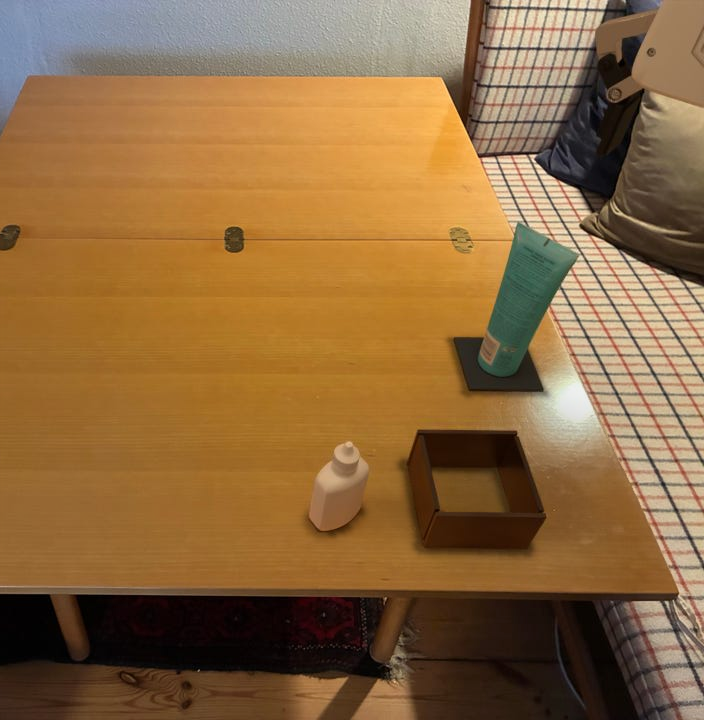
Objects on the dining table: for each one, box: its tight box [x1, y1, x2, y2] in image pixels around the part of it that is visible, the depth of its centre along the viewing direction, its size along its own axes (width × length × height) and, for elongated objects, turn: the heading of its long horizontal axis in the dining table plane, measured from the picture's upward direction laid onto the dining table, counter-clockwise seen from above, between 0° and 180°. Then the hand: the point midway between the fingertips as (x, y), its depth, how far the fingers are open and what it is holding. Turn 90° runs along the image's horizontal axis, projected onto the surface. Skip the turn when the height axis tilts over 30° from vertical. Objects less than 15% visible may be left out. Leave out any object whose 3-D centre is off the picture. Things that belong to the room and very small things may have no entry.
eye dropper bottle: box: [308, 440, 371, 532], centre depth 68 cm, size 4×6×12 cm
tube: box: [478, 221, 581, 377], centre depth 80 cm, size 7×5×19 cm, turn 44°
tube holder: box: [406, 428, 548, 550], centre depth 71 cm, size 10×10×6 cm
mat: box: [453, 336, 545, 392], centre depth 87 cm, size 9×9×1 cm
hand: (672, 172), depth 51 cm, fingers open, 9 cm apart
